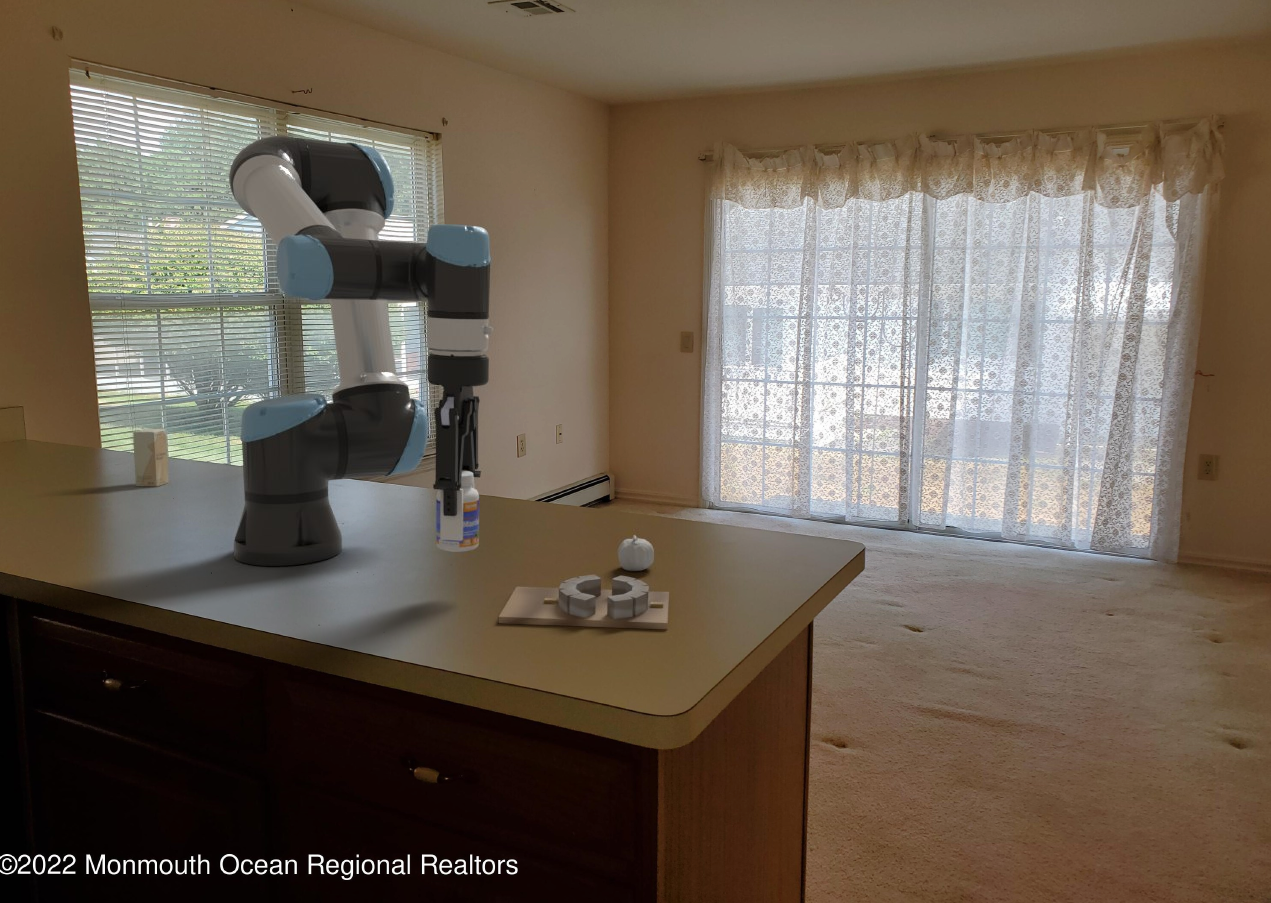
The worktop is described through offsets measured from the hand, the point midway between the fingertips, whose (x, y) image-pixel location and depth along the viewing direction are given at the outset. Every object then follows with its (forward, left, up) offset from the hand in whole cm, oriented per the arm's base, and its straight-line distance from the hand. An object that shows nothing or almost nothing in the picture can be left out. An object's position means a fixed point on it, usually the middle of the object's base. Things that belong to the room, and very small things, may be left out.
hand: (457, 532), depth 119 cm
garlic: (+22, +14, -9) cm, 28 cm away
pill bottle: (0, 0, -2) cm, 2 cm away
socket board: (+17, -5, -8) cm, 20 cm away
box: (-78, +63, -8) cm, 101 cm away
